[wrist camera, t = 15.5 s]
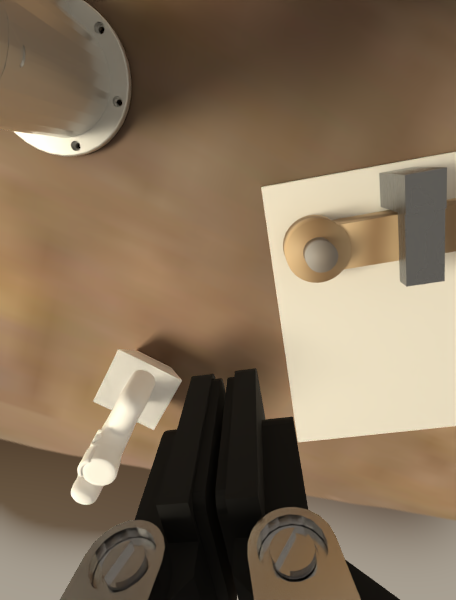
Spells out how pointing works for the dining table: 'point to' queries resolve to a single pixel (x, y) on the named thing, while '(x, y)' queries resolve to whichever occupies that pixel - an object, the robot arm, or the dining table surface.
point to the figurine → (123, 416)
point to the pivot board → (362, 321)
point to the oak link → (349, 242)
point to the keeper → (418, 220)
